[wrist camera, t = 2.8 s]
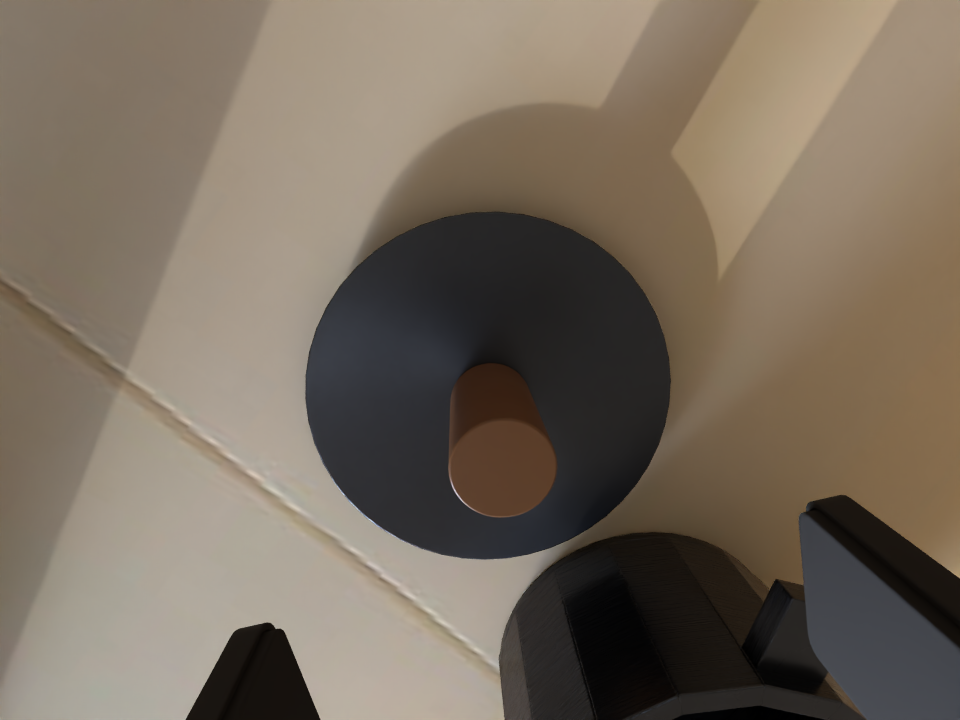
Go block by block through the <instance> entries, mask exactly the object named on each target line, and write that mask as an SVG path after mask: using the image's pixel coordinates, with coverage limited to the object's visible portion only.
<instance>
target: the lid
mask: <svg viewBox="0 0 960 720" xmlns="http://www.w3.org/2000/svg"><path fill="white" fill-rule="evenodd" d="M670 383H671V379H670V366H669V356H668V352H667V347H666V343H665V338H664V334H663V332H662V329H661V326H660V324H659V321H658V318H657V316H656V313H655V311H654V310H653V308H652V306H651V304H650V302H649V300H648V298H647V297H646V295H645V293H644V292H643V290H642V289H641V288H640V286H639V285H638V284H637V282H636V281H635V280H634V278H633V277H632V276H631V274H630V273H629V272H628V271H627V270H626V269H625V268H624V267H623V266H622V265H621V264H620V263H619V262H618V261H617V260H616V259H615V258H614V257H613V256H612V255H610V254H609V253H608V252H606V251H605V250H604V249H603V248H601V247H600V246H599V245H597V244H596V243H595V242H593V241H591V240H590V239H588V238H586V237H584V236H583V235H581V234H579V233H577V232H575V231H574V230H572V229H569V228H567V227H564V226H562V225H559V224H556V223H554V222H551V221H549V220H545V219H541V218H537V217H533V216H528V215H524V214H516V213H506V212H475V213H466V214H461V215H455V216H449V217H444V218H441V219H438V220H435V221H432V222H429V223H426V224H422V225H420V226H418V227H415V228H413V229H411V230H409V231H407V232H405V233H403V234H401V235H399V236H397V237H395V238H394V239H392V240H391V241H389V242H388V243H386V244H385V245H383V246H381V247H380V248H378V249H377V250H375V251H374V252H373V253H372V254H371V255H370V256H369V257H367V258H366V259H365V260H364V261H363V262H362V263H361V264H359V265H358V266H357V267H356V268H355V269H354V270H353V272H352V273H351V274H350V275H349V276H348V277H347V279H346V280H345V281H344V282H343V283H342V284H341V286H340V287H339V288H338V290H337V291H336V293H335V295H334V296H333V298H332V299H331V301H330V302H329V304H328V305H327V307H326V309H325V311H324V313H323V316H322V318H321V320H320V322H319V324H318V326H317V328H316V331H315V335H314V338H313V341H312V345H311V348H310V351H309V357H308V364H307V370H306V397H305V399H306V406H307V414H308V421H309V425H310V429H311V432H312V436H313V440H314V443H315V446H316V448H317V450H318V453H319V455H320V457H321V460H322V462H323V464H324V466H325V468H326V469H327V471H328V473H329V474H330V476H331V478H332V479H333V481H334V483H335V484H336V485H337V487H338V488H339V489H340V490H341V492H342V493H343V494H344V495H345V497H346V498H347V499H348V500H349V501H350V502H351V503H352V504H353V505H354V506H355V507H356V508H357V509H358V510H359V511H360V512H361V513H362V514H363V515H364V516H365V517H367V518H368V519H369V520H371V521H372V522H373V523H374V524H376V525H377V526H378V527H380V528H381V529H383V530H384V531H386V532H388V533H390V534H391V535H393V536H395V537H396V538H398V539H400V540H402V541H404V542H407V543H409V544H411V545H414V546H416V547H418V548H421V549H424V550H428V551H431V552H434V553H438V554H441V555H447V556H453V557H458V558H467V559H502V558H511V557H517V556H522V555H528V554H532V553H535V552H538V551H542V550H545V549H549V548H551V547H553V546H556V545H558V544H561V543H563V542H565V541H568V540H570V539H572V538H573V537H575V536H577V535H579V534H581V533H582V532H584V531H586V530H588V529H589V528H591V527H592V526H593V525H595V524H596V523H597V522H599V521H600V520H601V519H603V518H604V517H606V516H607V515H608V514H609V513H610V512H611V511H612V510H613V509H614V508H615V507H616V506H618V505H619V504H620V503H621V502H622V501H623V500H624V498H625V497H626V496H627V495H628V494H629V492H630V491H631V490H632V489H633V488H634V487H635V485H636V484H637V483H638V481H639V480H640V478H641V476H642V475H643V473H644V472H645V470H646V469H647V467H648V466H649V464H650V462H651V460H652V457H653V455H654V453H655V451H656V449H657V447H658V445H659V442H660V439H661V436H662V433H663V430H664V427H665V423H666V418H667V413H668V407H669V400H670Z"/></svg>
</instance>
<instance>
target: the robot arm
mask: <svg viewBox="0 0 960 720" xmlns="http://www.w3.org/2000/svg"><path fill="white" fill-rule="evenodd" d="M799 531H800V543H801V556H802V568H803V580H804V592H805V605H806V617H807V629H808V637H809V641H810V644H811V646H812V649H813V651H814V653H815V654H816V656H817V658H818V659H819V660H820V662H821V663H822V664H823V665H824V667H825V668H826V669H827V670H828V672H829V673H830V674H831V676H832V677H833V678H834V679H835V681H836V682H837V683H838V684H839V686H840V687H841V688H842V689H843V691H844V692H845V693H846V694H847V696H848V697H849V698H850V699H851V701H852V702H853V703H854V704H855V706H856V707H857V708H858V709H859V711H860V712H861V713H862V714H863V716H864V717H865V718H866V719H867V720H960V578H958V577H957V576H956V575H954V574H953V573H951V572H950V571H949V570H947V569H946V568H945V567H943V566H942V565H941V564H939V563H938V562H937V561H935V560H934V559H932V558H931V557H930V556H928V555H927V554H926V553H924V552H923V551H922V550H920V549H919V548H918V547H916V546H915V545H913V544H912V543H911V542H909V541H908V540H907V539H905V538H904V537H903V536H901V535H900V534H899V533H897V532H896V531H895V530H893V529H892V528H890V527H889V526H888V525H886V524H885V523H884V522H882V521H881V520H880V519H878V518H877V517H876V516H874V515H873V514H871V513H870V512H869V511H867V510H866V509H865V508H863V507H862V506H861V505H859V504H858V503H857V502H855V501H854V500H852V499H851V498H849V497H848V496H846V495H838V496H834V497H829V498H825V499H820V500H816V501H811V502H809V503H808V504H807V506H806V512H803V513H801V514H800V515H799ZM186 720H320V718H319V715H318V713H317V710H316V708H315V705H314V703H313V701H312V698H311V696H310V693H309V691H308V688H307V686H306V683H305V681H304V678H303V676H302V673H301V671H300V669H299V666H298V664H297V661H296V659H295V656H294V654H293V651H292V649H291V646H290V644H289V642H288V639H287V637H286V634H285V633H284V631H283V630H282V629H275V627H274V625H272V624H271V623H263V624H258V625H254V626H249V627H245V628H240V629H238V630H236V631H235V632H234V633H233V634H232V636H231V637H230V639H229V641H228V643H227V645H226V647H225V648H224V650H223V652H222V654H221V656H220V658H219V659H218V661H217V663H216V665H215V667H214V669H213V670H212V672H211V674H210V676H209V678H208V680H207V681H206V683H205V685H204V687H203V689H202V691H201V692H200V694H199V696H198V698H197V700H196V702H195V703H194V705H193V707H192V709H191V711H190V713H189V715H188V716H187V718H186Z"/></svg>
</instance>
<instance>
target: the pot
mask: <svg viewBox="0 0 960 720" xmlns="http://www.w3.org/2000/svg"><path fill="white" fill-rule="evenodd" d="M499 666H500V676H501V686H502V697H503V707H504V717H505V720H867V719H866V718H865V717H864V716H863V714H862V713H861V712H860V711H859V709H858V708H857V707H856V706H855V704H854V703H853V702H852V701H851V699H850V698H849V697H848V696H847V694H846V693H845V692H844V691H843V689H842V688H841V687H840V686H839V684H838V683H837V682H836V681H835V679H834V678H833V677H832V676H831V674H830V673H829V672H828V670H827V669H826V668H825V667H824V665H823V664H822V663H821V662H820V660H819V659H818V658H817V656H816V654H815V653H814V651H813V649H812V646H811V644H810V641H809V637H808V629H807V617H806V605H805V592H804V586H803V585H799V584H795V583H791V582H787V581H783V580H779V579H775V581H774V583H773V585H772V587H771V589H770V591H769V590H768V588H767V587H766V586H765V585H764V584H763V583H762V581H761V580H760V579H758V578H757V577H756V576H754V575H753V574H752V573H751V572H750V571H749V570H748V569H747V568H746V567H745V566H744V565H743V564H741V563H740V562H739V561H738V560H737V559H736V558H734V557H733V556H731V555H730V554H728V553H727V552H725V551H724V550H722V549H720V548H718V547H716V546H714V545H711V544H709V543H707V542H704V541H701V540H698V539H695V538H692V537H688V536H683V535H677V534H672V533H656V532H650V533H633V534H627V535H622V536H616V537H612V538H609V539H605V540H602V541H598V542H595V543H593V544H591V545H588V546H586V547H583V548H581V549H579V550H577V551H575V552H573V553H571V554H570V555H568V556H566V557H564V558H563V559H561V560H560V561H558V562H557V563H556V564H554V565H553V566H551V567H550V568H549V569H547V570H546V571H545V572H544V573H543V574H542V575H541V576H540V577H539V578H537V579H536V580H535V581H534V582H533V583H532V585H531V586H530V587H529V588H528V589H527V591H526V592H525V593H524V594H523V595H522V597H521V598H520V600H519V602H518V603H517V605H516V606H515V608H514V610H513V611H512V614H511V616H510V618H509V620H508V623H507V625H506V628H505V631H504V635H503V638H502V643H501V651H500V655H499Z"/></svg>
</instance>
